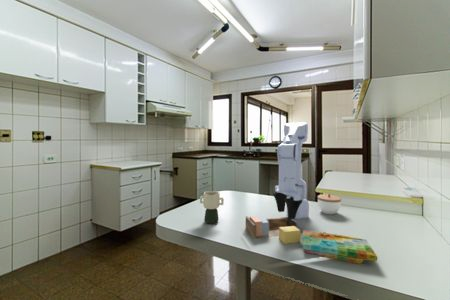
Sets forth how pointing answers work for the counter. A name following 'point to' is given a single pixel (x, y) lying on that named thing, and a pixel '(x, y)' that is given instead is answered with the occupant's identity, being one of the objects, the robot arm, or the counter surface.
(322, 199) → the lidded jar
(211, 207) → the character mug
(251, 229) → the shelf tray
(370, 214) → the counter surface
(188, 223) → the counter surface
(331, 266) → the counter surface
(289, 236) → the pale yellow upright block
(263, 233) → the row books
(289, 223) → the bookend
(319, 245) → the puzzle game
